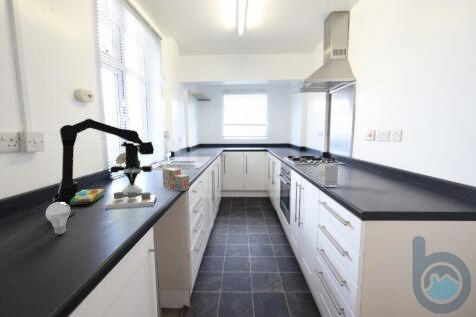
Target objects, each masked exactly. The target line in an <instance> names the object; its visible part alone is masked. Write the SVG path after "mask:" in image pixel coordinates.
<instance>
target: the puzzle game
mask: <svg viewBox="0 0 476 317" xmlns="http://www.w3.org/2000/svg"><path fill="white" fill-rule="evenodd" d="M106 191H107V190H106V188H93V189H92V188H91V189H81V190H80V191H79V192H78V191H77V192H78V193H77V192H76V195H75V197H74V198H73V199H71V201H70V204H71V206H72V205H87V204H88V205H89V204H94V203H95V202H96V201H97V200H98V199H100V198H101V197H103V196H104V195H105V194H106Z"/></svg>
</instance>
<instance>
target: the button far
mask: <svg viewBox="0 0 476 317" xmlns="http://www.w3.org/2000/svg"><path fill="white" fill-rule="evenodd" d="M150 195H151V192H148V191H145V192H144V191H143V192H141V194H140V196H141V198H142V199H148V198H150Z"/></svg>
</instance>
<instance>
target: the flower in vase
mask: <svg viewBox="0 0 476 317" xmlns="http://www.w3.org/2000/svg"><path fill="white" fill-rule="evenodd" d="M125 158H126V154H125V152H123V153H120V154H119V155H118V156H117V157H116V159H115V162H116V164H117V165H122V164H124V163H125V164H124V165H125V166H126V160H125ZM125 166H122V167H125ZM133 172H134V171H132V173H133ZM130 191H137V195H138V194H140V193H143V188H141V187H140V186H139V185H137V184H135V183H134V185H131V183H130V181H129V180H128V184H127V185H126V186H125V187H124V188H123V189H121V190H120V192H123V194H124V196H128V192H130Z"/></svg>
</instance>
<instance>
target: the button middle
mask: <svg viewBox="0 0 476 317" xmlns="http://www.w3.org/2000/svg"><path fill="white" fill-rule="evenodd" d="M137 196H138V194H137V191H130V192H128V195H127V197H128V198H135V197H137Z"/></svg>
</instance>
